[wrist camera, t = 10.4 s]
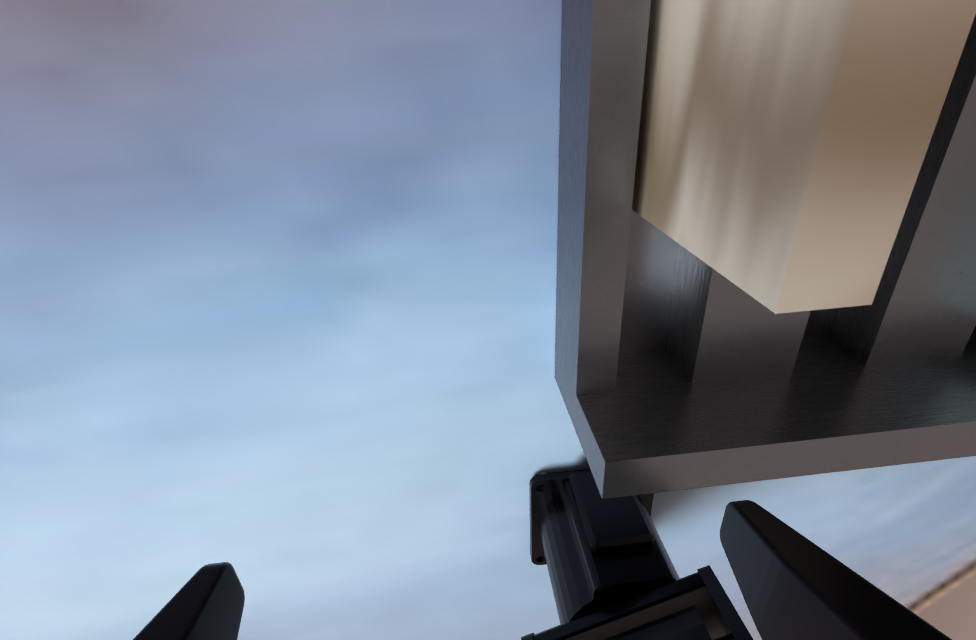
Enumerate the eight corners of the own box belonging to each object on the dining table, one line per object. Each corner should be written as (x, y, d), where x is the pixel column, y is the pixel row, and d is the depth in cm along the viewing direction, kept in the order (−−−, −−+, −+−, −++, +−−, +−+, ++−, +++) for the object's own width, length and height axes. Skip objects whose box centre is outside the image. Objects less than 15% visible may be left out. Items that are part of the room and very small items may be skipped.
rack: (964, 337, 23) (1155, 434, 17) (554, 377, 22) (602, 498, 16) (1305, -376, 13) (2098, -776, 7) (569, -379, 12) (722, -877, 5)
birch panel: (673, 196, 18) (871, 304, 10) (619, 200, 17) (775, 313, 9) (698, -2, 15) (1008, -79, 7) (634, 2, 15) (874, -74, 7)
